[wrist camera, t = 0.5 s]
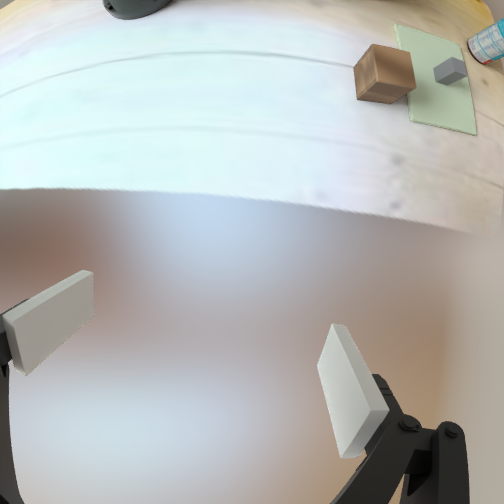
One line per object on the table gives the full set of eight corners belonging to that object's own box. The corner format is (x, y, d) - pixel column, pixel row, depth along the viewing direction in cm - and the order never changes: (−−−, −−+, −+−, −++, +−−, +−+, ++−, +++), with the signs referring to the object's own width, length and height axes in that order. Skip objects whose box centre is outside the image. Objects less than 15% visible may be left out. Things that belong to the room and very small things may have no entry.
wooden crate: (353, 67, 34) (372, 43, 25) (385, 72, 33) (409, 52, 25) (357, 99, 35) (378, 80, 26) (390, 104, 34) (416, 88, 26)
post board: (393, 26, 31) (409, 7, 24) (456, 46, 30) (476, 34, 23) (409, 121, 35) (433, 111, 28) (473, 135, 34) (498, 131, 27)
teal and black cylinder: (489, 68, 30) (536, 49, 16) (470, 60, 31) (518, 36, 16) (482, 44, 29) (525, 22, 14) (462, 35, 29) (505, 8, 15)
